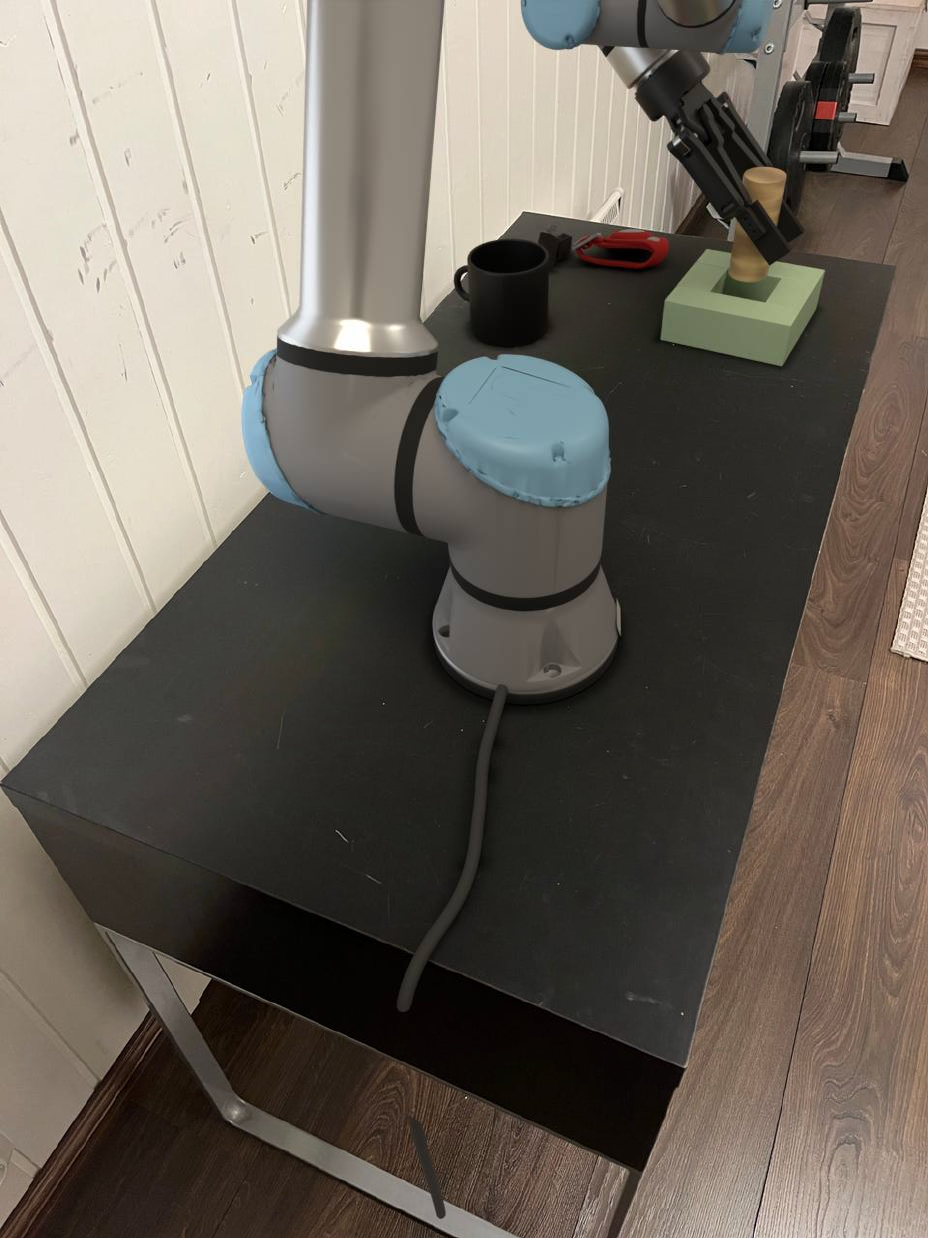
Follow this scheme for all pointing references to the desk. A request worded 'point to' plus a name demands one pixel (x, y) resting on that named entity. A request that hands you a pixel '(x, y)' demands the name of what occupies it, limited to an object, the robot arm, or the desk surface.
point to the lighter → (555, 244)
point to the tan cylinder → (769, 193)
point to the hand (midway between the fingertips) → (787, 247)
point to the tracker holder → (625, 240)
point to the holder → (741, 309)
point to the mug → (507, 291)
